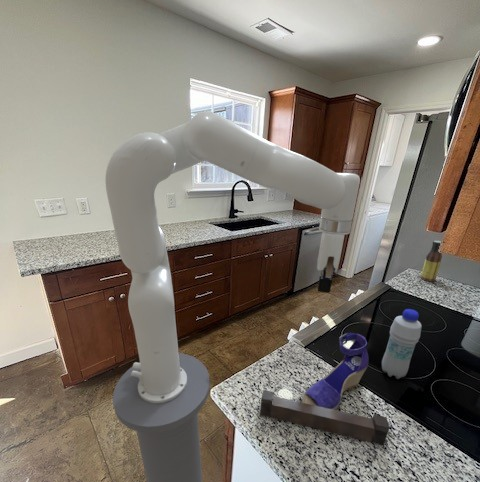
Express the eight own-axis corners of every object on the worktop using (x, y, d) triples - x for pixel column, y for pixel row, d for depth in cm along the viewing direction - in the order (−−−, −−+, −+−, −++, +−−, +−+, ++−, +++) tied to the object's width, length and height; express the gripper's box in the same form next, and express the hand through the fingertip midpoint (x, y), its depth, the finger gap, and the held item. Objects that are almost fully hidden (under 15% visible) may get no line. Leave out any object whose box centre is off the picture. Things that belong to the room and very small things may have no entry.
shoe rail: (260, 414, 61) (261, 398, 59) (262, 406, 63) (263, 389, 61) (383, 445, 55) (389, 428, 53) (381, 434, 57) (386, 417, 55)
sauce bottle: (429, 277, 136) (441, 239, 128) (438, 282, 130) (451, 243, 122) (416, 277, 136) (428, 239, 128) (424, 282, 130) (437, 243, 122)
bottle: (409, 372, 74) (430, 310, 66) (401, 385, 69) (423, 321, 62) (384, 360, 78) (401, 301, 70) (375, 371, 74) (392, 309, 66)
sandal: (291, 395, 66) (296, 347, 60) (350, 372, 74) (360, 327, 68) (312, 423, 59) (320, 371, 53) (375, 394, 67) (389, 346, 61)
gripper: (319, 218, 74) (310, 278, 81) (319, 230, 61) (308, 301, 68) (347, 221, 72) (336, 282, 79) (354, 233, 59) (339, 306, 66)
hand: (323, 290), depth 73 cm, fingers closed
